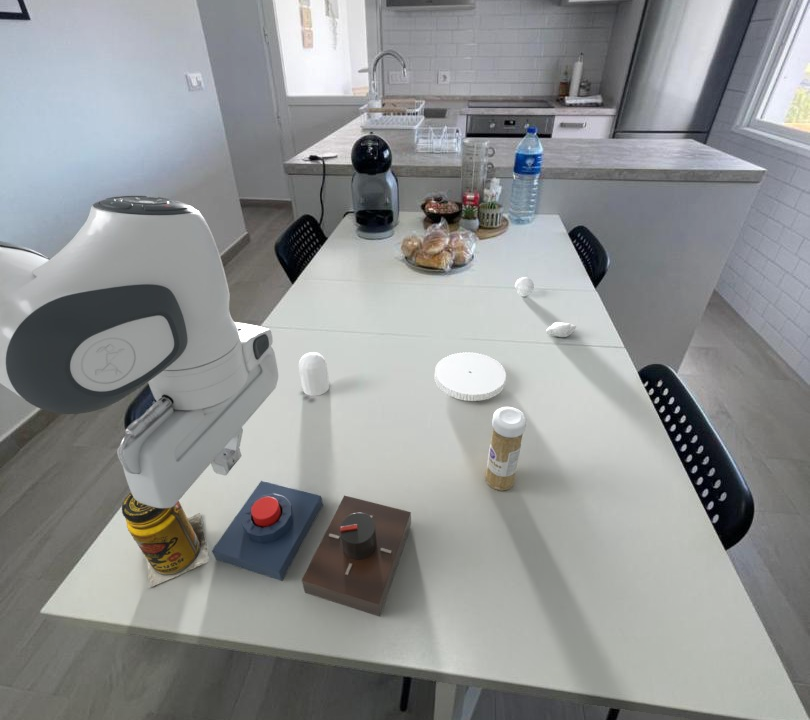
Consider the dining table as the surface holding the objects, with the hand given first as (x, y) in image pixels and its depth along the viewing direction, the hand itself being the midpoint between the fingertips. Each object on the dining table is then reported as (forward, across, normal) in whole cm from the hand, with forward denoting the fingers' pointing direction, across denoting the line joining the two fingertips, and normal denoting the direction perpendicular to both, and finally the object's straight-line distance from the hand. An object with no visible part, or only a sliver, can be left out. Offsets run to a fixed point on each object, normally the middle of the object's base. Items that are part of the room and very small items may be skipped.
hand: (228, 465), depth 51 cm
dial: (+13, +3, -14) cm, 20 cm away
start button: (+13, +3, -1) cm, 13 cm away
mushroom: (+15, +85, -29) cm, 91 cm away
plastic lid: (+15, +44, -22) cm, 51 cm away
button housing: (+17, +3, -1) cm, 17 cm away
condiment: (+17, -3, +10) cm, 20 cm away
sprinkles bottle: (+16, +21, -31) cm, 40 cm away
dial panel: (+16, +3, -14) cm, 22 cm away
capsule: (+16, +34, +7) cm, 39 cm away
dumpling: (+15, +67, -39) cm, 79 cm away
